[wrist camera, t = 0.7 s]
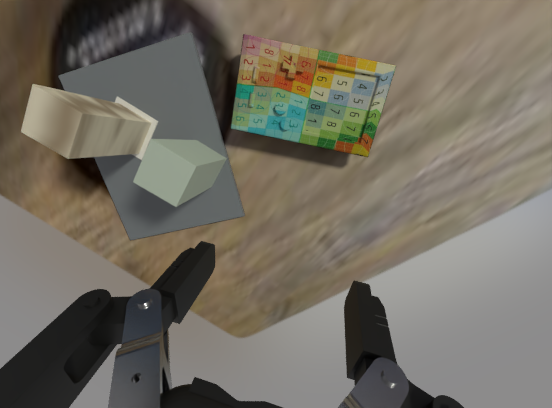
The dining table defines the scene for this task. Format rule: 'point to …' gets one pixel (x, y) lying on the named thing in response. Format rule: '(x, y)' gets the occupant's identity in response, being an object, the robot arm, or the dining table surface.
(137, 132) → the birch block
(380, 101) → the puzzle game
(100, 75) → the board
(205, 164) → the sage block
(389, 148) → the dining table surface
